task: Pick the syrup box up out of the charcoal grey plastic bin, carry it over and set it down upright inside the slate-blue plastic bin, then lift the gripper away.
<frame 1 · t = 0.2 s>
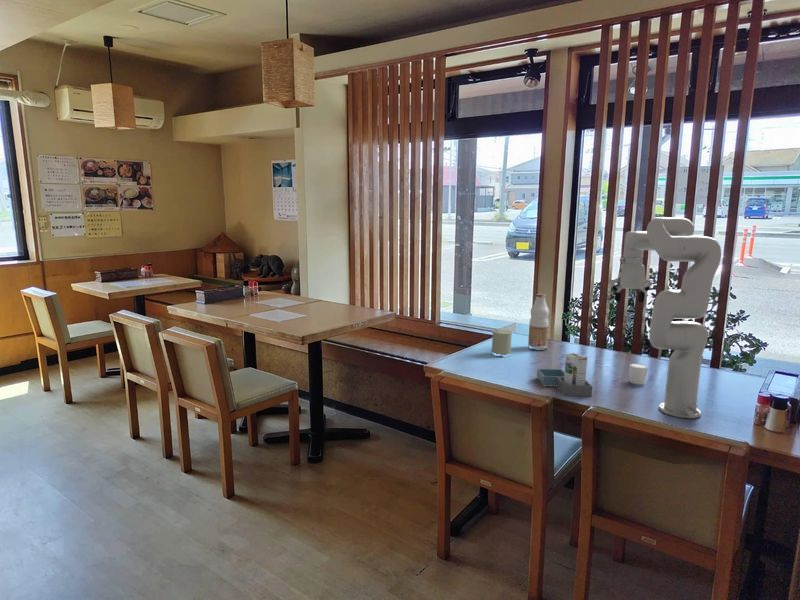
hand: (629, 301, 213), 31 cm above the table, tool pointing down, fingers open, 9 cm apart
can: (501, 355, 244), on the table
fruit juice: (537, 349, 257), on the table
syrup box: (573, 392, 193), resting in charcoal bin
white cup: (637, 382, 205), on the table
charcoal bin: (573, 391, 193), on the table
slate bin: (552, 382, 204), on the table
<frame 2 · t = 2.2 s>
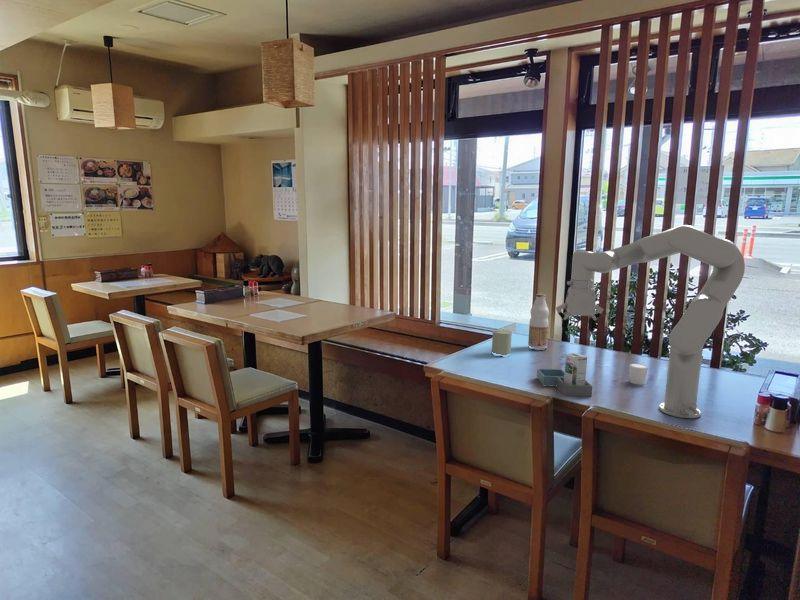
hand: (577, 329, 189), 24 cm above the table, tool pointing down, fingers open, 9 cm apart
nothing on the table moved.
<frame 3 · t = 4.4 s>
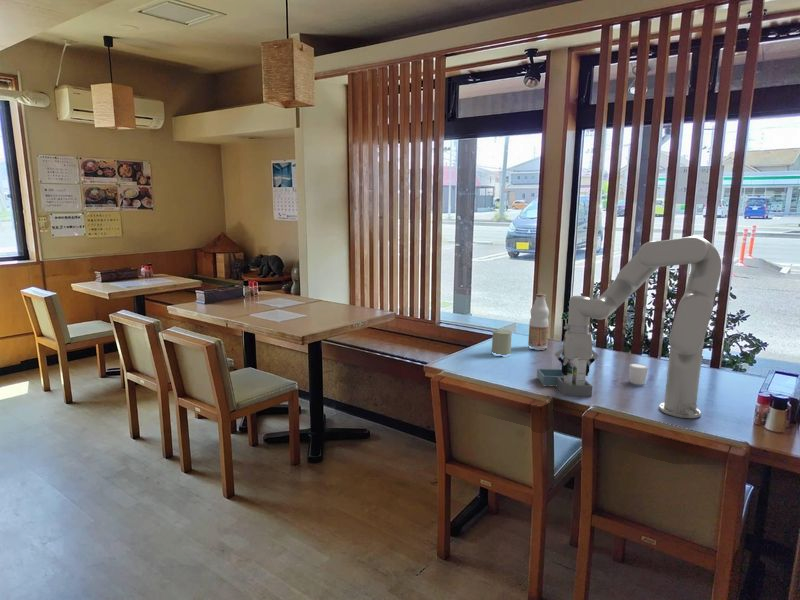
hand: (574, 374, 192), 7 cm above the table, tool pointing down, fingers closed on syrup box, 7 cm apart
syrup box: (573, 392, 193), resting in charcoal bin, touching gripper
everything else where it was.
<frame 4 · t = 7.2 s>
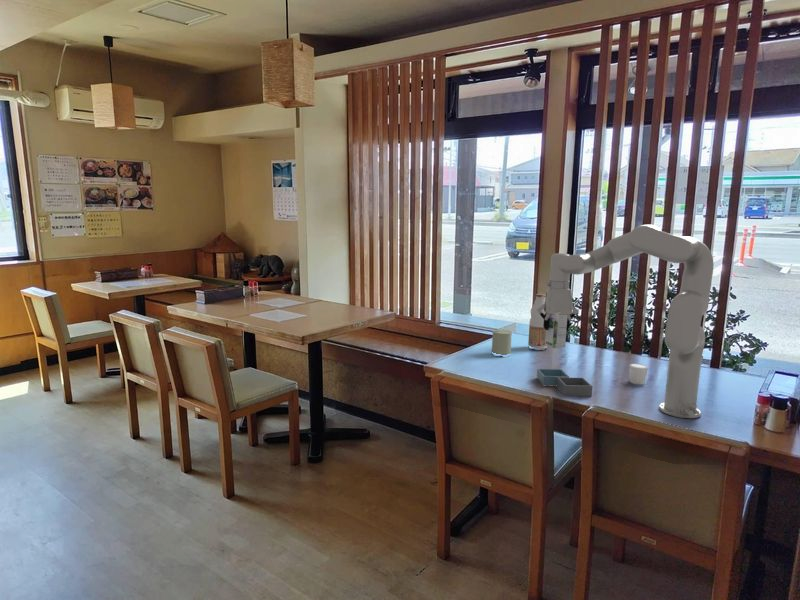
hand: (556, 329, 200), 22 cm above the table, tool pointing down, fingers closed on syrup box, 7 cm apart
syrup box: (555, 346, 201), point 15 cm above the table, touching gripper
everything else where it was.
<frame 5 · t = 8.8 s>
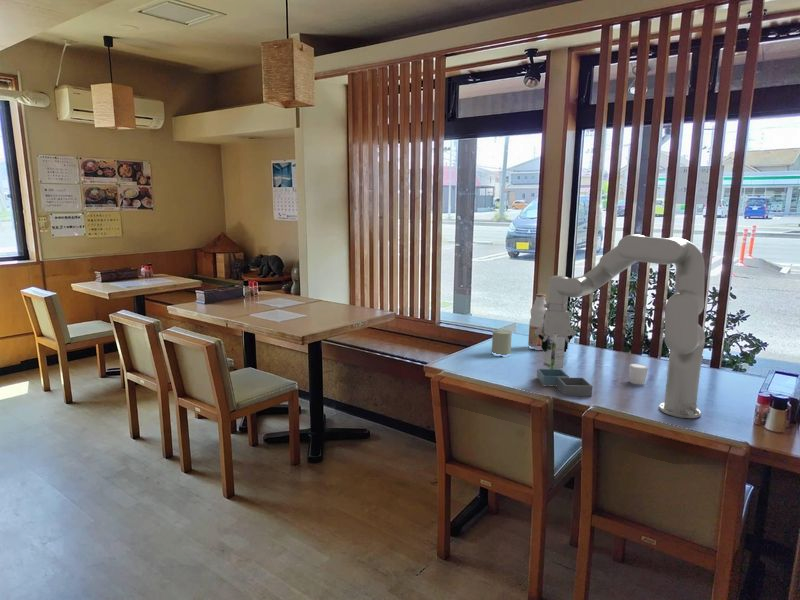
hand: (554, 350, 202), 13 cm above the table, tool pointing down, fingers closed on syrup box, 7 cm apart
syrup box: (552, 367, 203), point 6 cm above the table, touching gripper
everything else where it was.
when the fingers open (8 cm above the table, at t = 10.3 s): syrup box drops 1 cm, resting in slate bin.
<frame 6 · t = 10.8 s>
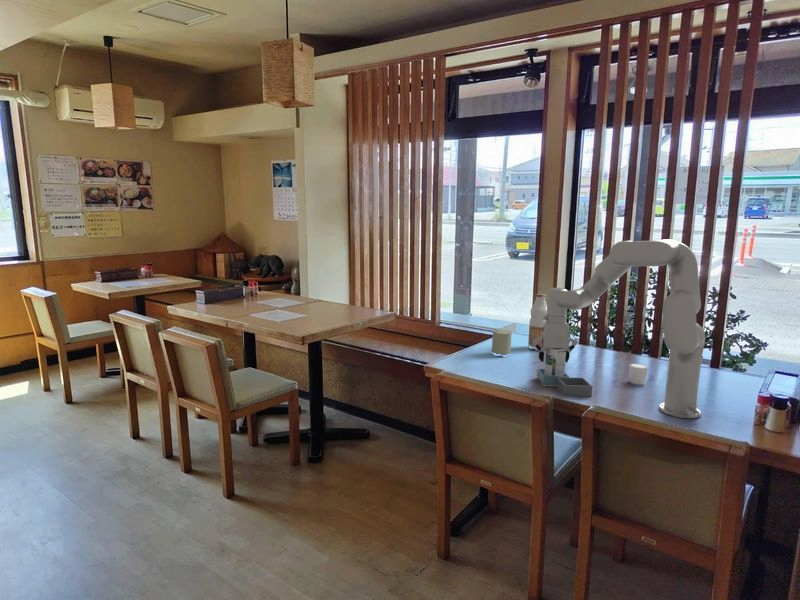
hand: (553, 361, 202), 9 cm above the table, tool pointing down, fingers open, 9 cm apart
syrup box: (553, 382, 203), resting in slate bin
everything else where it was.
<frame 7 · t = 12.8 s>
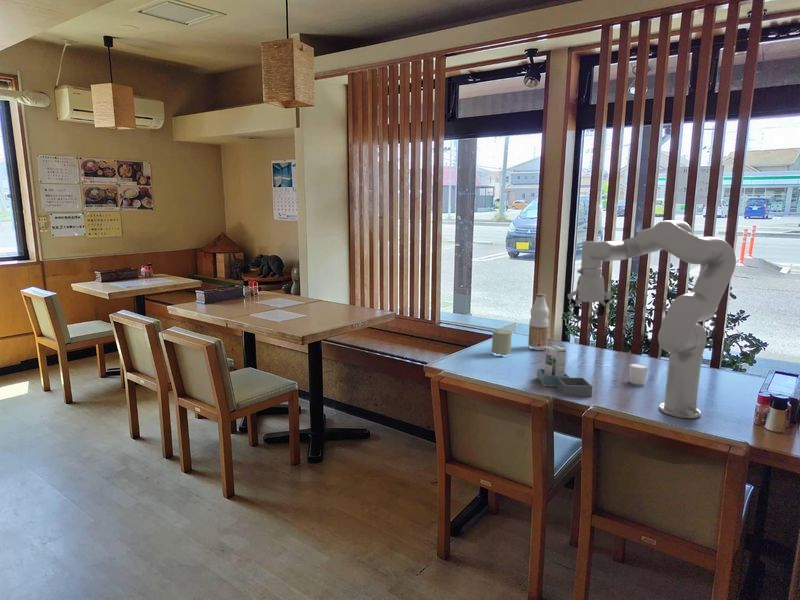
hand: (588, 315, 201), 27 cm above the table, tool pointing down, fingers open, 9 cm apart
nothing on the table moved.
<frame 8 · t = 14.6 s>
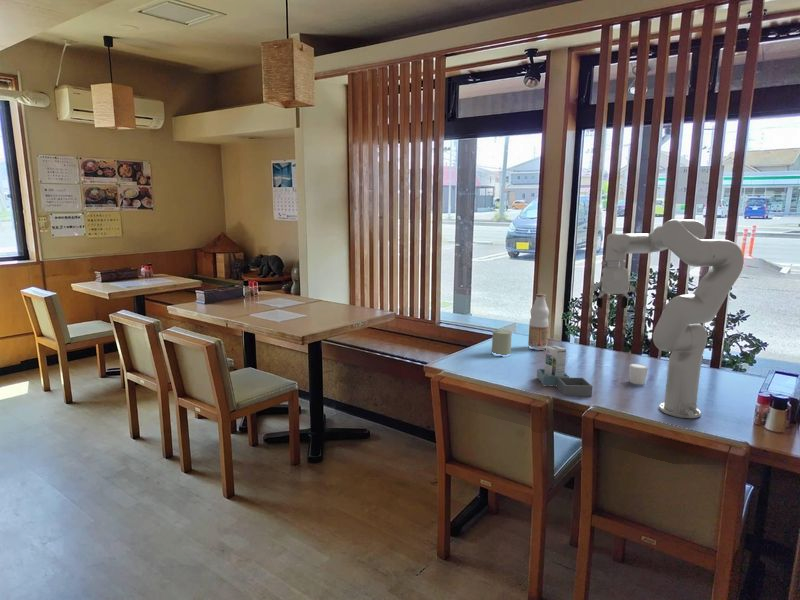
hand: (611, 307, 203), 30 cm above the table, tool pointing down, fingers open, 9 cm apart
nothing on the table moved.
at the end: syrup box 0.5 cm off-centre on the slate bin, point 0.0 cm above the slate bin's base; syrup box tilted 0°; the gripper is holding nothing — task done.
